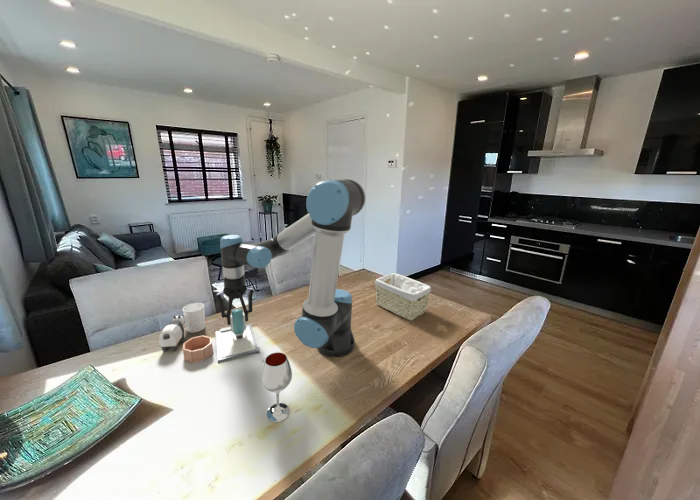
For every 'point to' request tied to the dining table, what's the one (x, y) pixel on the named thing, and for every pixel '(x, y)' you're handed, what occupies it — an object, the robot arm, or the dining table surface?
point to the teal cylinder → (238, 323)
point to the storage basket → (402, 295)
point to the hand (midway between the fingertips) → (238, 329)
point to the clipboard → (235, 344)
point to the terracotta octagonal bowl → (197, 348)
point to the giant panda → (172, 334)
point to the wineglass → (276, 383)
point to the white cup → (194, 317)
